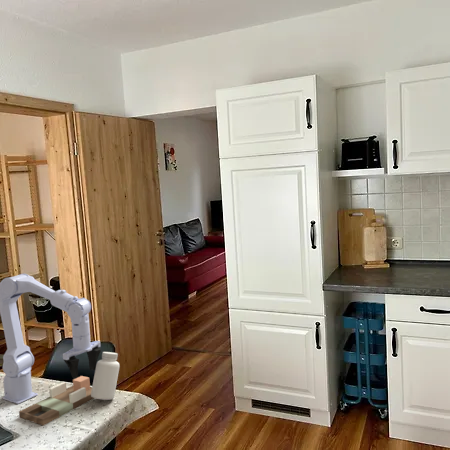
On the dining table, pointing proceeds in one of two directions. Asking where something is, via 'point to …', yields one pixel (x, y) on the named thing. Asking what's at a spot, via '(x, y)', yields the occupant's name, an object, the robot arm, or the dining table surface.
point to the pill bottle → (105, 377)
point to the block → (81, 383)
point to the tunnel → (73, 396)
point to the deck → (53, 407)
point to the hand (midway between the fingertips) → (83, 373)
